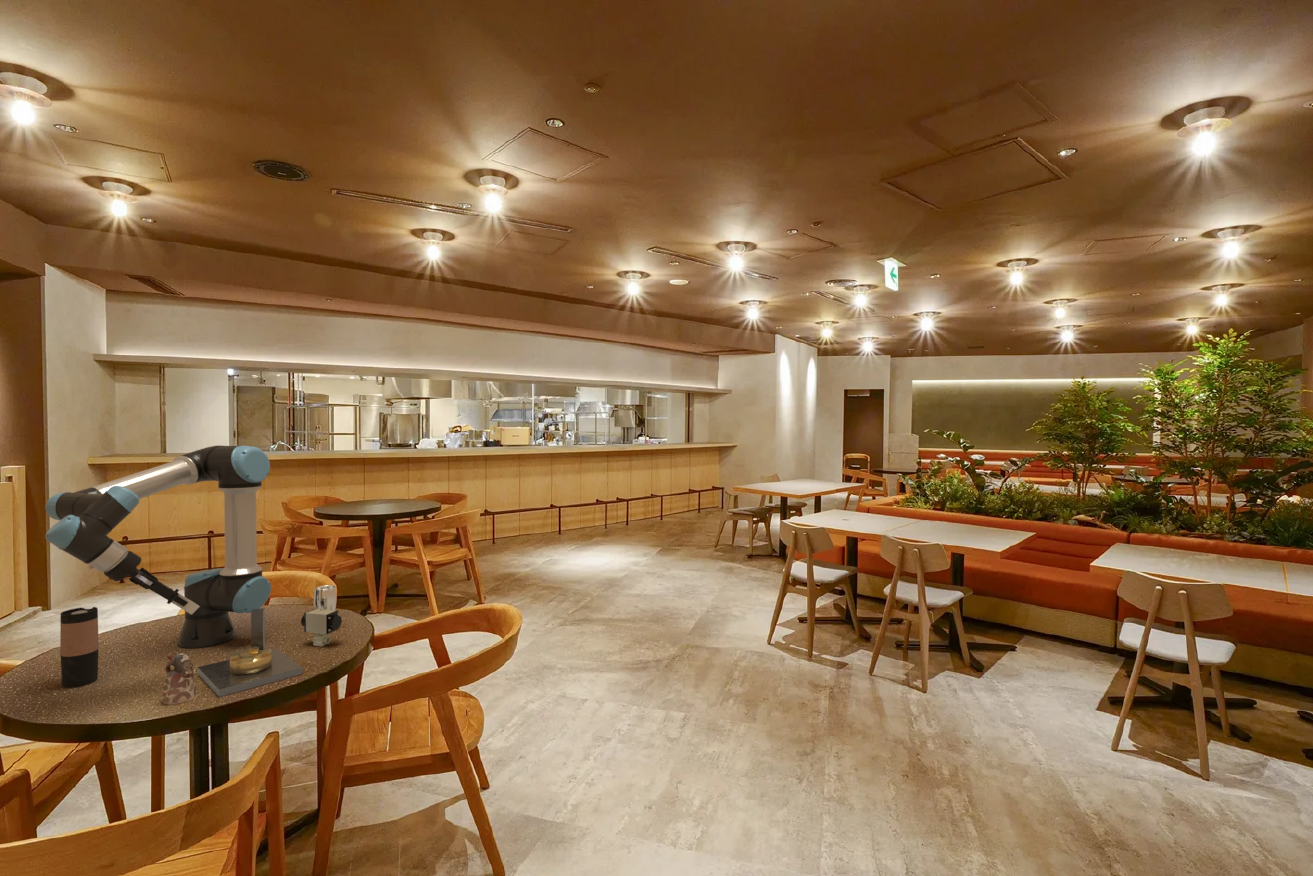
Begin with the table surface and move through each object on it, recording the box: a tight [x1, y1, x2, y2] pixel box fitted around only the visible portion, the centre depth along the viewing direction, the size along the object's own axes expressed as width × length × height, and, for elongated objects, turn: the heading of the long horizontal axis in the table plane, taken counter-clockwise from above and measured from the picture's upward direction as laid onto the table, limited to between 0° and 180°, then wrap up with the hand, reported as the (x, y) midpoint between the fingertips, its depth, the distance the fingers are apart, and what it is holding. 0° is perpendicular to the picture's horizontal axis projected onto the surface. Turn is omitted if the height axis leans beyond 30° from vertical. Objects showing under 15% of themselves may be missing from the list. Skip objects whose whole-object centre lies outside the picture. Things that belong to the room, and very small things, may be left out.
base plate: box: [197, 648, 304, 698], centre depth 174 cm, size 22×20×2 cm
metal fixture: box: [229, 607, 272, 674], centre depth 177 cm, size 18×10×13 cm, turn 25°
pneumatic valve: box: [300, 608, 343, 647], centre depth 198 cm, size 6×12×12 cm, turn 78°
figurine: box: [161, 652, 197, 706], centre depth 158 cm, size 7×7×12 cm
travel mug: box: [59, 606, 100, 689], centre depth 168 cm, size 8×8×20 cm
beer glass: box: [313, 584, 337, 610], centre depth 212 cm, size 7×7×15 cm
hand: (195, 609), depth 171 cm, fingers closed
